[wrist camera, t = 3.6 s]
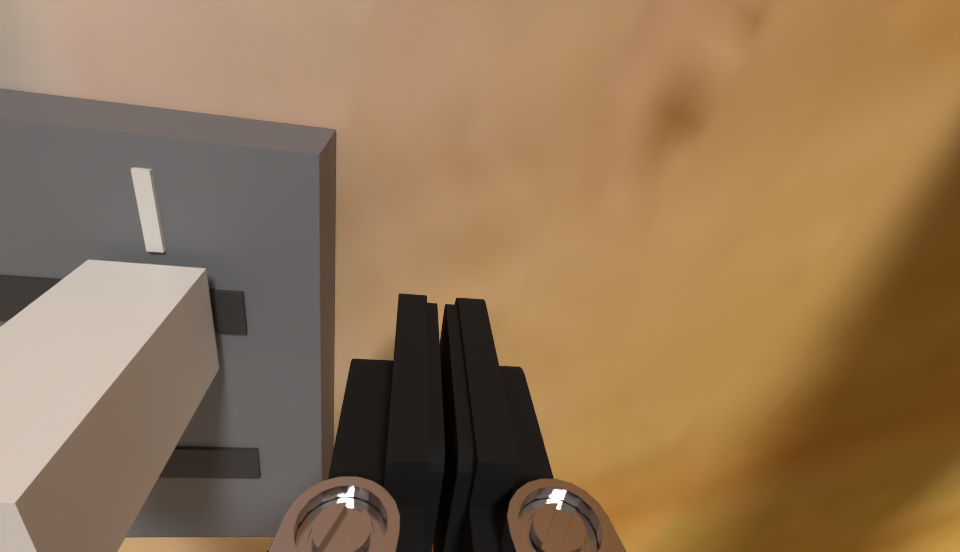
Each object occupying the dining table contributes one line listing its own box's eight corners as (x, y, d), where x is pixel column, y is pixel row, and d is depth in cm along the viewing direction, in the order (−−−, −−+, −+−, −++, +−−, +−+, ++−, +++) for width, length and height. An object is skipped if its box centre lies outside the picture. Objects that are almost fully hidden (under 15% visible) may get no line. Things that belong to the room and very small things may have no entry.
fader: (206, 268, 9) (7, 512, 5) (218, 368, 10) (67, 640, 6) (88, 259, 9) (-240, 511, 5) (115, 363, 10) (-128, 647, 6)
